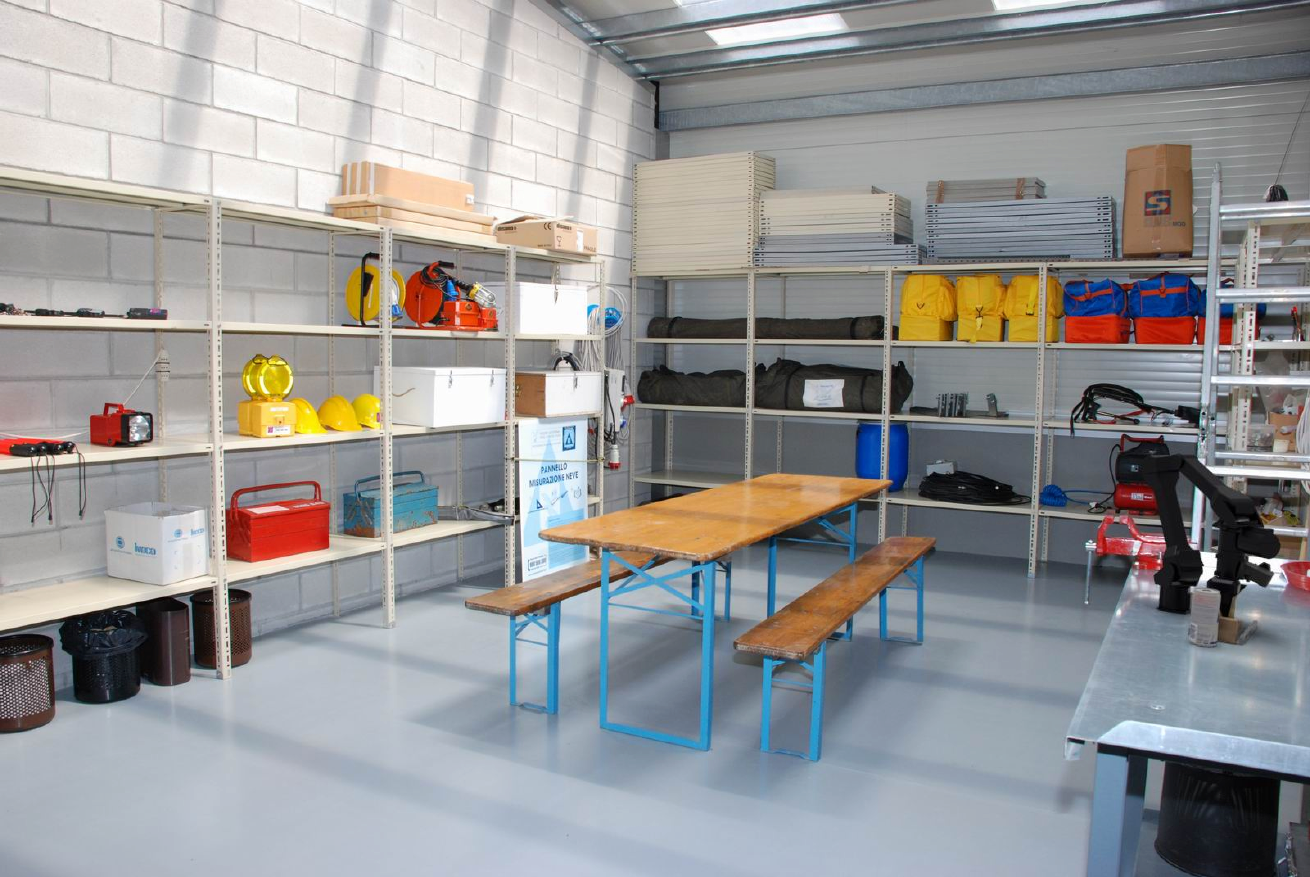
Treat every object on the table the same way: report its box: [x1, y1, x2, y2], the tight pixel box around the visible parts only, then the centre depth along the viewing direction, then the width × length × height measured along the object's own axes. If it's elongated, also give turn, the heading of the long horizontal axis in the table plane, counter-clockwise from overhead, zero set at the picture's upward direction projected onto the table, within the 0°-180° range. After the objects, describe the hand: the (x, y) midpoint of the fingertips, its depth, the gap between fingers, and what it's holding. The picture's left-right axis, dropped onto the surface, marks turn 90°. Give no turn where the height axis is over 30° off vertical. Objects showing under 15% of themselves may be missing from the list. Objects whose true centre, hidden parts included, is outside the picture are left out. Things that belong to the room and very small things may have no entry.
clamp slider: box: [1217, 596, 1243, 644], centre depth 223 cm, size 8×14×8 cm, turn 140°
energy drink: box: [1188, 587, 1221, 648], centre depth 215 cm, size 5×5×12 cm
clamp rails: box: [1187, 619, 1259, 646], centre depth 225 cm, size 11×19×2 cm, turn 140°
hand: (1226, 615), depth 227 cm, fingers closed on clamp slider, 3 cm apart
